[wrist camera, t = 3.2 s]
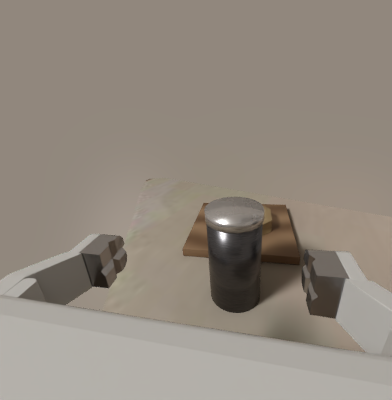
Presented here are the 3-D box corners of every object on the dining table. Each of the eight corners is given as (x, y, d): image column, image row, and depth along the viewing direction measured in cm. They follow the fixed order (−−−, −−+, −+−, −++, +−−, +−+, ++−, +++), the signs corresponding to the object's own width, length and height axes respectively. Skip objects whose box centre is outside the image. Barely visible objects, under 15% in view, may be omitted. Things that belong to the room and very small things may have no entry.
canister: (237, 269, 31) (236, 192, 26) (271, 296, 26) (277, 209, 22) (200, 288, 28) (193, 207, 24) (231, 323, 23) (229, 230, 19)
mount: (204, 208, 48) (203, 194, 47) (285, 210, 45) (286, 195, 43) (183, 255, 34) (181, 237, 33) (299, 264, 31) (301, 244, 29)
